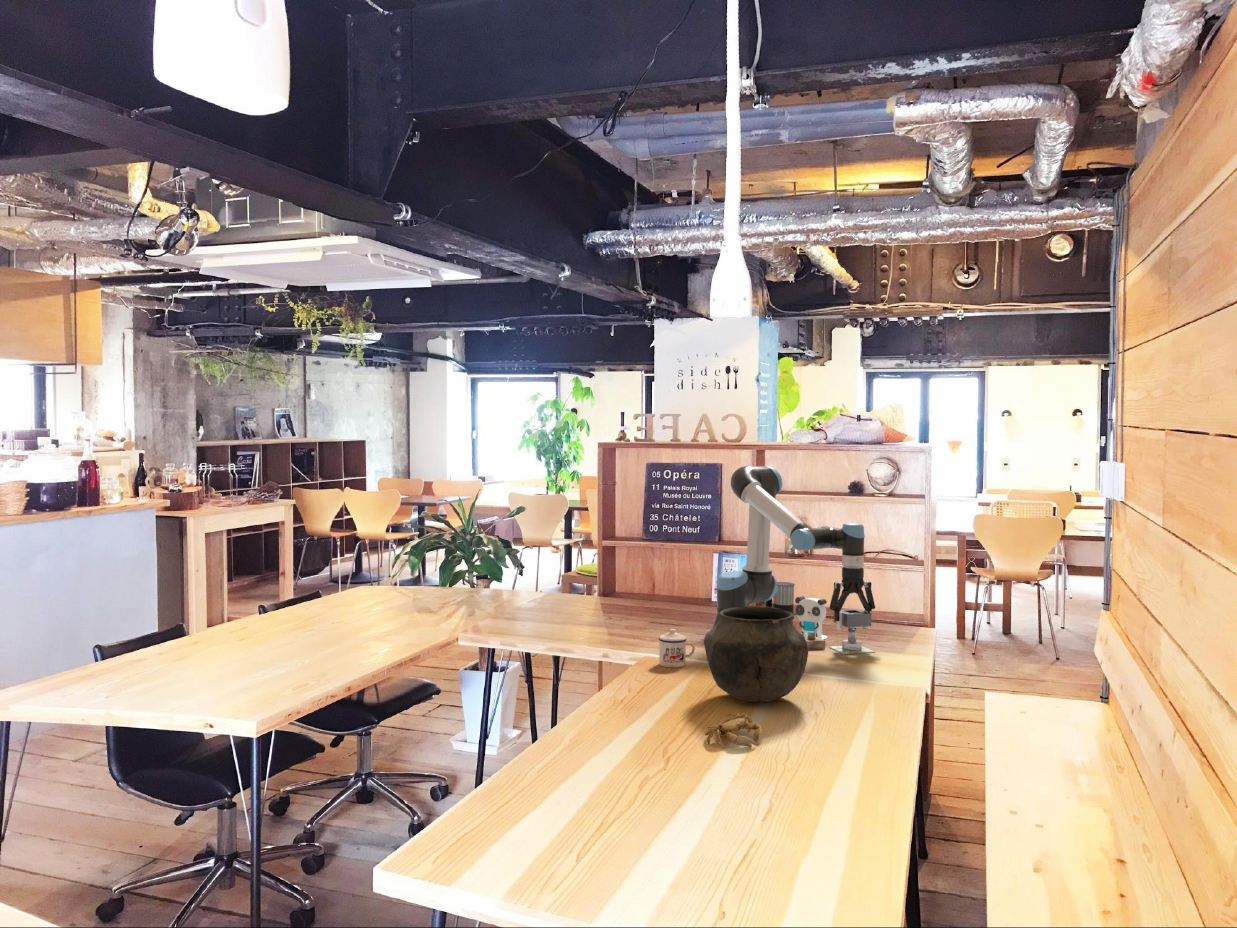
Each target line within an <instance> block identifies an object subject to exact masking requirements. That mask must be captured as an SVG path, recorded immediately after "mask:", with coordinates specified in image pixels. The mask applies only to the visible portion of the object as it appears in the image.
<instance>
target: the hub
mask: <svg viewBox="0 0 1237 928" xmlns="http://www.w3.org/2000/svg"><path fill="white" fill-rule="evenodd" d="M828 648H829V649H832V650H833V651H836V652H839V653H840V654H842V653H843V655H853V654H854V655H855V654H858V655H859V653H860V654H874V653H876V651H874V650H872V649H870V648H868V647H865V646H863V641H861V640H857V627H847V639H843V640H841V645H834V646H833V645H832V646H831V645H830V646H828Z"/></svg>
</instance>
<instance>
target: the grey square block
mask: <svg viewBox="0 0 1237 928" xmlns="http://www.w3.org/2000/svg"><path fill="white" fill-rule="evenodd" d="M863 610H864V609H859V608H845V609H841V611H840V612H842V627H845V628H848V627H856V628H862V627H865V626H868V627H872V613H871V612H870V613H869V612H866V611H863ZM834 618H835V612H834V611H833V623H834V624H836V621H835V619H834Z"/></svg>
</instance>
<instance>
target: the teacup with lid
mask: <svg viewBox="0 0 1237 928" xmlns="http://www.w3.org/2000/svg"><path fill="white" fill-rule="evenodd" d="M658 641H659V648H658V649H659V652H658V655H659V656H658V657H659V659H658V661H659V662H658V663H659V665H660V666H662V667H664V668H674V669H675V668H682V667H685V665H686V658H687V659H688V658H691V657H692V656H693V655H694V654H695V651H696V646H695V644H694V643H693V642H691V641H690V642H689V641H687V637H686V636H684V635H682V634H680V633H679V632H677V629H675V628H670V629H669V631H668V632H666V633H665V634H661V635H660V636H659V637H658ZM687 645H690V646H691V647H692V650H691V652H690V653H689V654H686V647H687Z"/></svg>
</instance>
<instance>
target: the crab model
mask: <svg viewBox="0 0 1237 928" xmlns="http://www.w3.org/2000/svg"><path fill="white" fill-rule="evenodd" d="M724 716H725V717H729V716H732V717H730V718H728V719H726V720H725V721H724V722H723V723H722V722H720V723H717V724H714V725H706V728H707V729H709V730H707V731H706V732H705V733H704V735H705V736H707V740H706V741H707V745H710V744H711V738H712V737H713V735H714V734H715V736H716V739H717V742H718V744H719V746H721V747H722V749H725V748H726V747H725V745H724V744H723V742H722V739H721V737H722V736H726V738H727V739H728V740H729V741H730V742H732V743H734V744H735V745H738V746H743V747H748V748H752V747H753V746H756V745H757V744H758V743H759V742H760V740H761V738H762V734H763V733H762V732H763V730H762V726H761V725H760V724H758V723H754V721H753V719H752V717H751V715H749V714H746V713H745V712H742V713H741V714H740V713H734V712H732V713H728V714H725V715H724ZM747 721H748V722H747ZM741 730H747V733H750V731H751V730H752V731H754V732H753V736H752V738H749V736H745V735H738V736H737V734H735V733H734V732H737V731H741Z"/></svg>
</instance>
